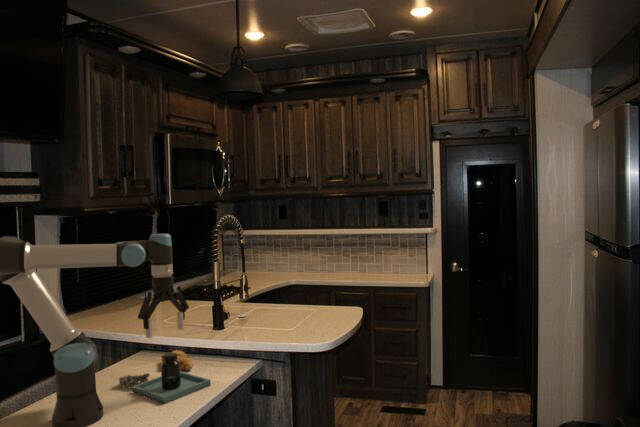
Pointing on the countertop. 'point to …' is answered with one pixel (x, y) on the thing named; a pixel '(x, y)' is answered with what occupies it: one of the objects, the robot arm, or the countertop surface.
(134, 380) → the egg carton
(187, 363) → the croissant
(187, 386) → the tray
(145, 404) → the countertop surface
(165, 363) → the supplement bottle
